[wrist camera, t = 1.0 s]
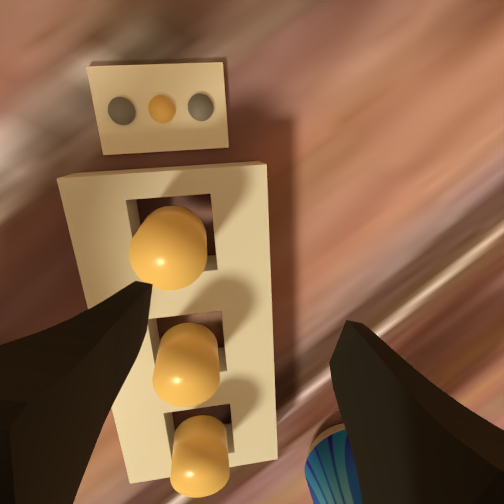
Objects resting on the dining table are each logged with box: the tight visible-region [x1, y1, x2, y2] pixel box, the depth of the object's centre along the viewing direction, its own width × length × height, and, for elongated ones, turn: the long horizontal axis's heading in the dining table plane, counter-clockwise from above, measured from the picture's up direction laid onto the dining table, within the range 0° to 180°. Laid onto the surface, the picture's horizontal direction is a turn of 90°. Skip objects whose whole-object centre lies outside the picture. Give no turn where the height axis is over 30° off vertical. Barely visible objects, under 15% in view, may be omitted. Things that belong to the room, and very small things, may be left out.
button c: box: [129, 206, 207, 290], centre depth 19 cm, size 4×4×3 cm
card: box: [86, 62, 229, 155], centre depth 21 cm, size 8×5×1 cm, turn 92°
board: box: [57, 161, 278, 484], centre depth 25 cm, size 12×24×3 cm, turn 2°
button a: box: [170, 415, 230, 497], centre depth 25 cm, size 4×4×3 cm
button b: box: [152, 323, 220, 407], centre depth 22 cm, size 4×4×3 cm
